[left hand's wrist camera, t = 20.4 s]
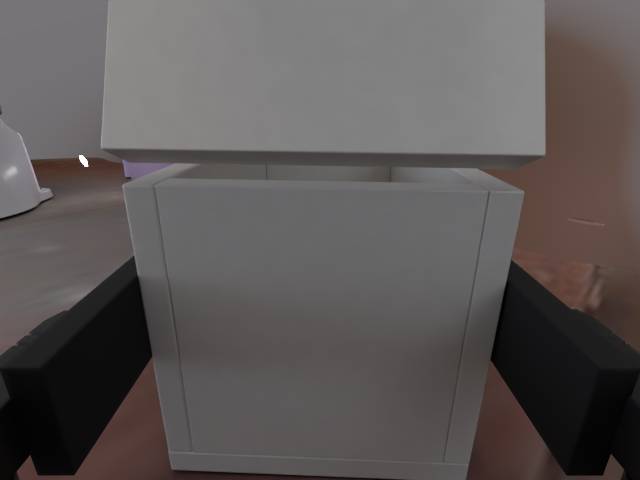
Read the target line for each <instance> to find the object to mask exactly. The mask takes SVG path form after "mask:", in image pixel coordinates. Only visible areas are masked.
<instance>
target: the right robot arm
mask: <svg viewBox="0 0 640 480" xmlns="http://www.w3.org/2000/svg"><path fill="white" fill-rule="evenodd" d="M1 114H2V111H1V107H0V115H1ZM80 161H81V162H82V163H83V164H84V166H88V164H87V160H86V159H85V158H84V157H83V156H82V155H81V156H80ZM51 197H53V194H52V192H51V189H48V188H39V185H38V182H37V179H36V176H35V173H34V170H33V167H32V164H31V161H30V159H29V156H28V153H27V150H26V147H25V145H24V142H23V139H22V137H21V135H20V134H19V133H17V132H16V131H14V130H12V129H11V128H9V127H8V126H7V125H6V124H5V123H4V122H3V121H2V120H1V119H0V218H3V217H7V216H11V215H14V214H18V213H21V212H24V211H27V210H29V209H32V208H34V207H35V206H37V205H38V204H39V203H40V202H41V201H43V200H46V199H48V198H51Z"/></svg>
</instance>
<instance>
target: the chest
mask: <svg viewBox="0 0 640 480" xmlns="http://www.w3.org/2000/svg"><path fill="white" fill-rule="evenodd" d="M123 193H124V199H125V205H126V210H127V216H128V222H129V227H130V233H131V239H132V245H133V250H134V256H135V262H136V267H137V273H138V279H139V285H140V290H141V296H142V302H143V307H144V313H145V318H146V324H147V329H148V335H149V340H150V345H151V351H152V359H153V365H154V370H155V376H156V382H157V387H158V393H159V399H160V405H161V410H162V416H163V422H164V427H165V433H166V439H167V445H168V450H169V458H170V464H171V469H172V470H189V471H212V472H236V473H260V474H283V475H307V476H331V477H354V478H378V479H402V480H466V477H467V472H468V467H469V462H470V458H471V453H472V448H473V443H474V438H475V433H476V428H477V423H478V418H479V413H480V409H481V404H482V399H483V394H484V389H485V384H486V379H487V374H488V369H489V364H490V360H491V355H492V350H493V345H494V340H495V335H496V330H497V325H498V320H499V315H500V311H501V306H502V301H503V296H504V291H505V286H506V281H507V276H508V271H509V266H510V261H511V257H512V252H513V247H514V242H515V237H516V232H517V227H518V222H519V217H520V212H521V208H522V203H523V198H524V191H522V190H520V189H518V188H516V187H513V186H511V185H509V184H507V183H505V182H503V181H501V180H499V179H497V178H495V177H493V176H491V175H489V174H486V173H484V172H482V171H480V170H478V169H476V168H416V167H356V166H296V165H236V164H176V163H175V164H173V165H170V166H168V167H165V168H163V169H160V170H158V171H155V172H153V173H150V174H148V175H145V176H143V177H140V178H138V179H135V180H133V181H130V182H128V183H125V184H123Z"/></svg>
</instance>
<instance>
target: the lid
mask: <svg viewBox="0 0 640 480" xmlns="http://www.w3.org/2000/svg"><path fill="white" fill-rule="evenodd" d="M101 149H102V150H104V151H106V152H108V153H111V154H113V155H115V156H117V157H119V158H121V159H123V160H125V161H127V162H129V163H176V164H236V165H296V166H356V167H416V168H476V169H519V168H521V167H523V166H525V165H527V164H529V163H531V162H534V161H536V160H538V159H540V158H542V157H544V156H545V0H109V8H108V26H107V45H106V63H105V82H104V100H103V119H102V137H101Z"/></svg>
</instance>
